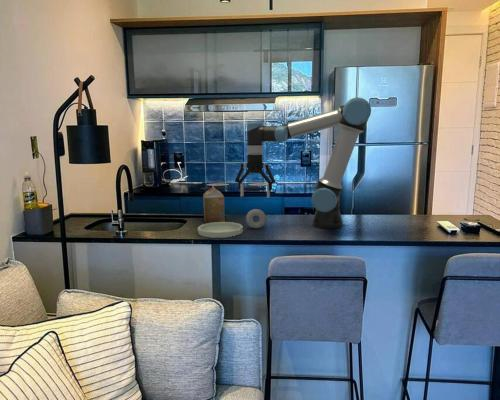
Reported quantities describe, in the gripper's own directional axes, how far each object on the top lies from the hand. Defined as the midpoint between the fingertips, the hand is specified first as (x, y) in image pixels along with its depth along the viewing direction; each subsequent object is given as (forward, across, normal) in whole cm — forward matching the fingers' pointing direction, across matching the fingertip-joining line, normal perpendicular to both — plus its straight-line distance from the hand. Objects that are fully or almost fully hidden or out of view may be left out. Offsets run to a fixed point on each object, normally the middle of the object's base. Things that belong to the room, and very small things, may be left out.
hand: (255, 196), depth 211 cm
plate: (+16, +15, +11) cm, 24 cm away
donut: (+16, 0, 0) cm, 16 cm away
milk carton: (+17, +27, -11) cm, 33 cm away
